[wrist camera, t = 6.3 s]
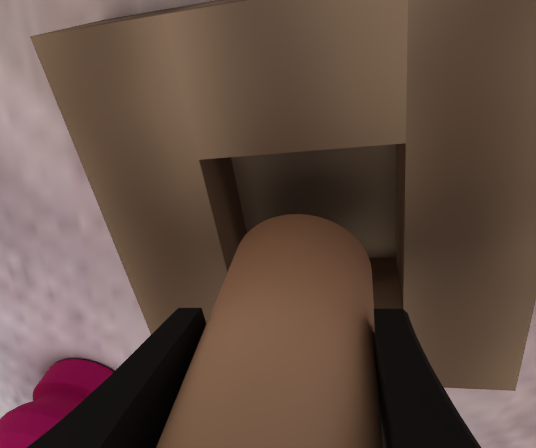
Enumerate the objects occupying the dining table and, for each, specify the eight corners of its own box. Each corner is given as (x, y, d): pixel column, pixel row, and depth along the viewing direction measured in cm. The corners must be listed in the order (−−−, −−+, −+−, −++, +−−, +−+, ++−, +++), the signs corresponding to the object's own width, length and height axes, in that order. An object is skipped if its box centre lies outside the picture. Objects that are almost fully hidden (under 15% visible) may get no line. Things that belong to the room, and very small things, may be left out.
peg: (398, 247, 11) (448, 562, 5) (336, 340, 13) (323, 634, 7) (258, 192, 11) (150, 453, 5) (219, 295, 13) (112, 560, 7)
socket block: (541, -55, 12) (616, -62, 8) (486, 314, 19) (515, 390, 15) (102, 20, 15) (30, 36, 12) (196, 312, 22) (167, 374, 19)
